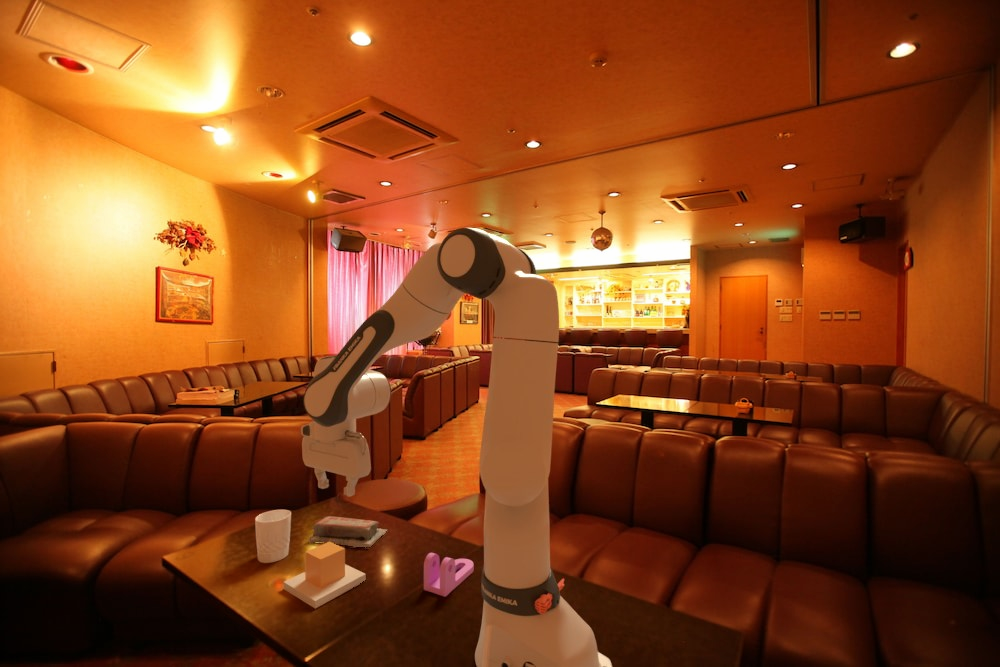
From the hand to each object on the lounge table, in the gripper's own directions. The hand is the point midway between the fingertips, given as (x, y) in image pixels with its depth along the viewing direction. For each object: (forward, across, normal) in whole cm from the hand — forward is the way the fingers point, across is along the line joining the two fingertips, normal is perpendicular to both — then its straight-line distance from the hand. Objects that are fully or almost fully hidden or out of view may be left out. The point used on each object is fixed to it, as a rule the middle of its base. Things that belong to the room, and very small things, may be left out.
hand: (336, 491), depth 95 cm
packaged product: (+20, +17, -15) cm, 30 cm away
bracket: (+20, -20, -15) cm, 32 cm away
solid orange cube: (+18, +1, +2) cm, 18 cm away
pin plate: (+20, +1, +2) cm, 20 cm away
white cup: (+20, +23, +2) cm, 31 cm away
